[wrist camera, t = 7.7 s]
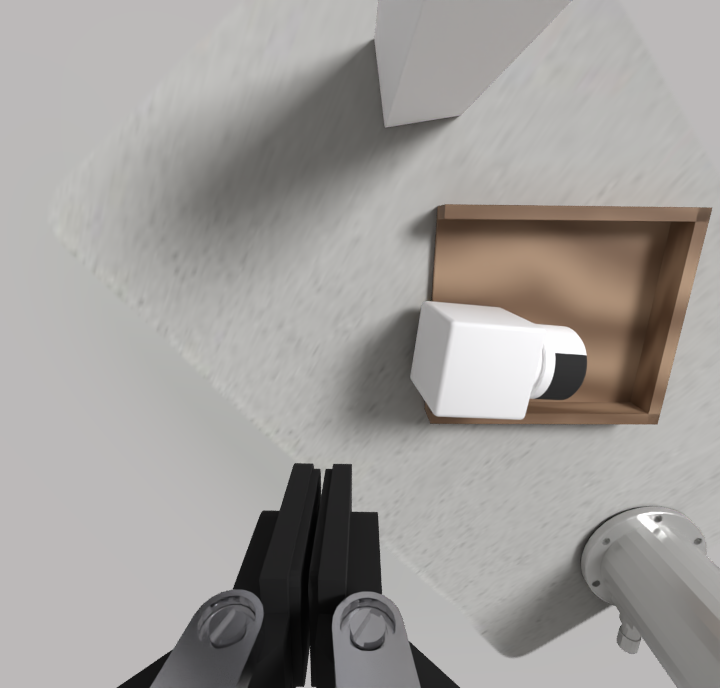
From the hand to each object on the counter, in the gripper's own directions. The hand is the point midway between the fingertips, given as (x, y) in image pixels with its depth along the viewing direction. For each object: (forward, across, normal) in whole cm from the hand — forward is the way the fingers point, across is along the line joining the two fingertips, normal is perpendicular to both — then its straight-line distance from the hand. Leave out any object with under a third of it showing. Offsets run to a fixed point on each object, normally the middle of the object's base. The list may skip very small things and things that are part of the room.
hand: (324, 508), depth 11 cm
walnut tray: (+24, -17, -1) cm, 30 cm away
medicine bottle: (+19, -6, +1) cm, 20 cm away
